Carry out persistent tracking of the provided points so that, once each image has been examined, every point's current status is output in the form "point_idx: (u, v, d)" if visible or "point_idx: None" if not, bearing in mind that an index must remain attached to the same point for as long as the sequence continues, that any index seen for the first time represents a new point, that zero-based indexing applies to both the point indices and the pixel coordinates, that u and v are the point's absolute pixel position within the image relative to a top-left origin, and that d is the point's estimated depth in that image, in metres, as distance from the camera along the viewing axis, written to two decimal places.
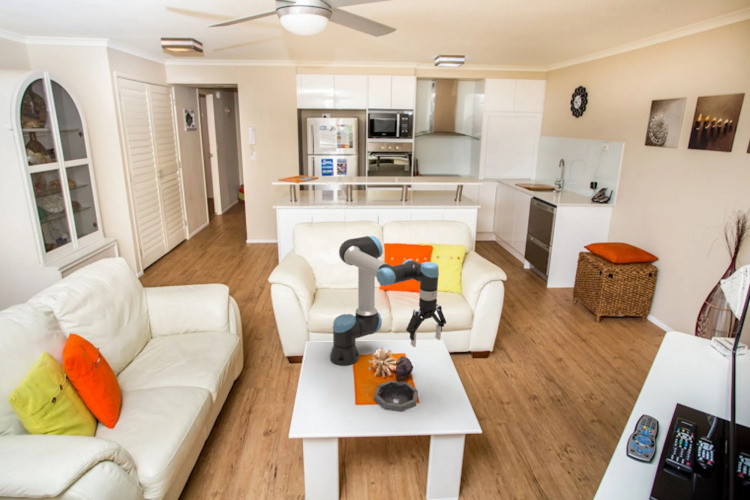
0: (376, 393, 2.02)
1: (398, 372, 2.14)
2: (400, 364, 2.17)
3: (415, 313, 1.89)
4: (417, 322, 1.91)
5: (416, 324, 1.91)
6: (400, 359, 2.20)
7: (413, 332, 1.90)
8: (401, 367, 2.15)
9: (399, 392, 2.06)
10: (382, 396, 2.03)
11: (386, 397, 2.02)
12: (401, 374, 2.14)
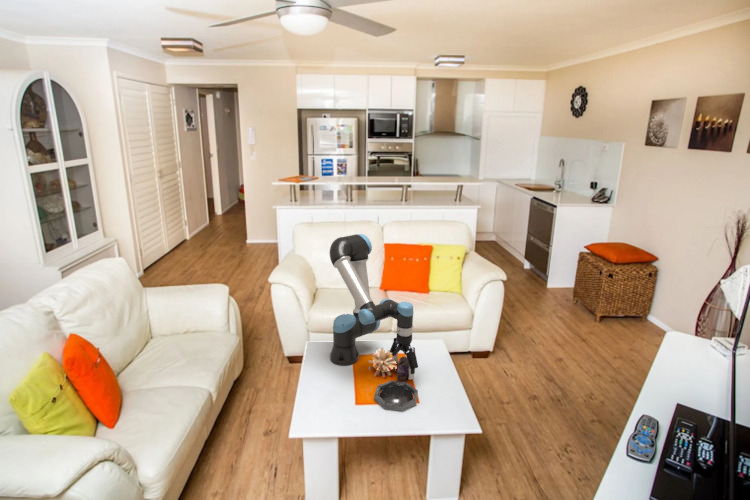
0: (376, 393, 2.02)
1: (399, 373, 2.14)
2: (401, 365, 2.17)
3: None
4: None
5: None
6: (401, 359, 2.19)
7: (392, 353, 2.24)
8: (402, 368, 2.15)
9: (399, 392, 2.06)
10: (382, 396, 2.03)
11: (386, 397, 2.02)
12: (402, 374, 2.14)
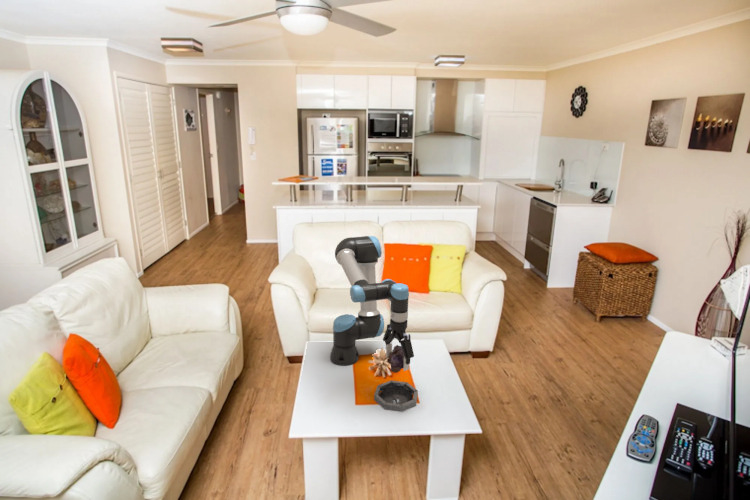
0: (376, 393, 2.02)
1: (393, 363, 1.91)
2: (395, 354, 1.94)
3: None
4: None
5: None
6: (395, 348, 1.97)
7: (385, 342, 2.01)
8: (396, 357, 1.92)
9: (399, 392, 2.06)
10: (382, 396, 2.03)
11: (386, 397, 2.02)
12: (396, 364, 1.91)
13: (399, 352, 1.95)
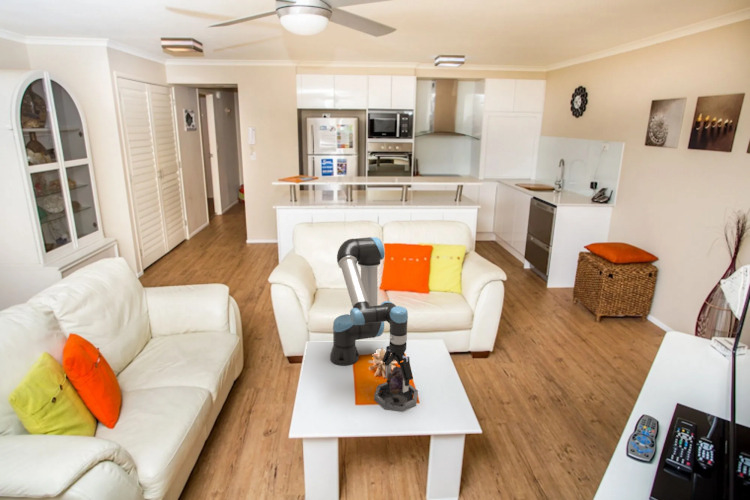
0: (376, 393, 2.02)
1: (392, 384, 1.94)
2: (394, 375, 1.97)
3: None
4: None
5: None
6: (394, 370, 2.00)
7: None
8: (395, 379, 1.95)
9: (399, 392, 2.06)
10: (382, 396, 2.03)
11: (386, 397, 2.02)
12: (395, 386, 1.94)
13: (398, 374, 1.98)
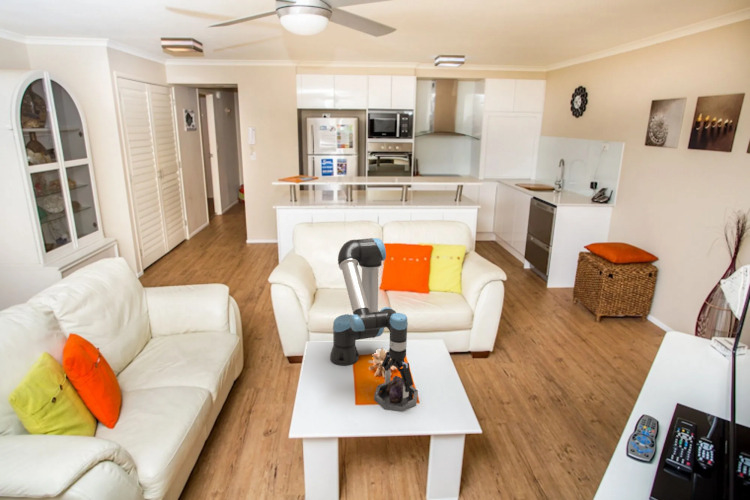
0: (376, 393, 2.02)
1: (391, 394, 1.96)
2: (394, 385, 1.99)
3: None
4: None
5: None
6: (394, 379, 2.01)
7: (384, 368, 2.05)
8: (395, 389, 1.97)
9: None
10: (382, 396, 2.03)
11: (386, 397, 2.02)
12: (394, 396, 1.96)
13: (398, 383, 1.99)
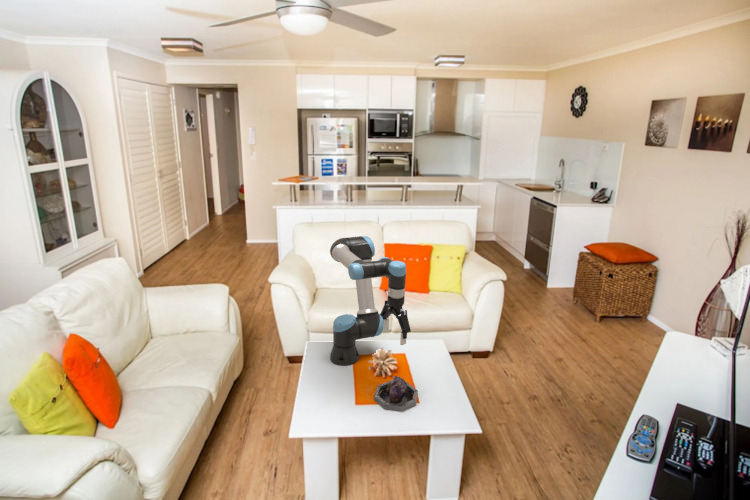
0: (376, 393, 2.02)
1: (391, 394, 1.96)
2: (394, 385, 1.99)
3: None
4: None
5: None
6: (394, 379, 2.01)
7: (382, 317, 2.08)
8: (395, 389, 1.97)
9: None
10: (382, 396, 2.03)
11: (386, 397, 2.02)
12: (394, 396, 1.96)
13: (398, 383, 1.99)
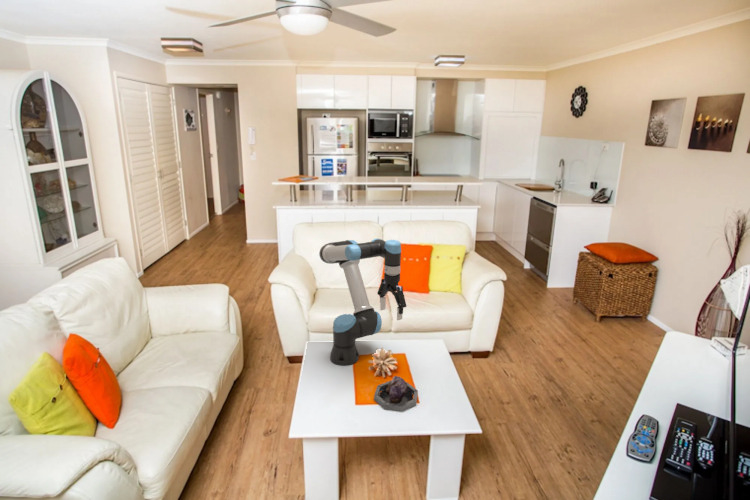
0: (376, 393, 2.02)
1: (391, 394, 1.96)
2: (394, 385, 1.99)
3: None
4: None
5: None
6: (394, 379, 2.01)
7: (379, 295, 2.18)
8: (395, 389, 1.97)
9: None
10: (382, 396, 2.03)
11: (386, 397, 2.02)
12: (394, 396, 1.96)
13: (398, 383, 1.99)
